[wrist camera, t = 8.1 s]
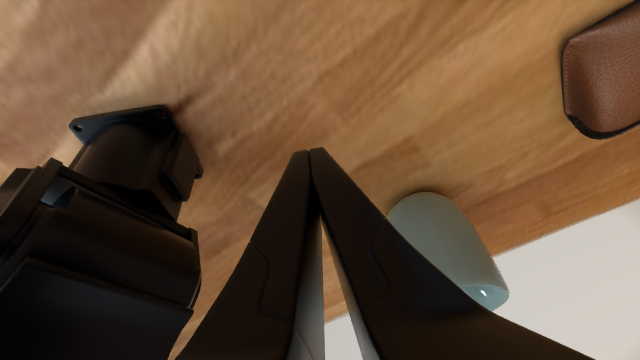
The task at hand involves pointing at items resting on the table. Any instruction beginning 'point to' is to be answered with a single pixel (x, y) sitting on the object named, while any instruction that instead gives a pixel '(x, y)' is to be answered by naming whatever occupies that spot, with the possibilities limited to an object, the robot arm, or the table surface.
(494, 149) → the table surface
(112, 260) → the robot arm
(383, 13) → the table surface
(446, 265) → the cup
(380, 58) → the table surface
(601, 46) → the sunglasses case
